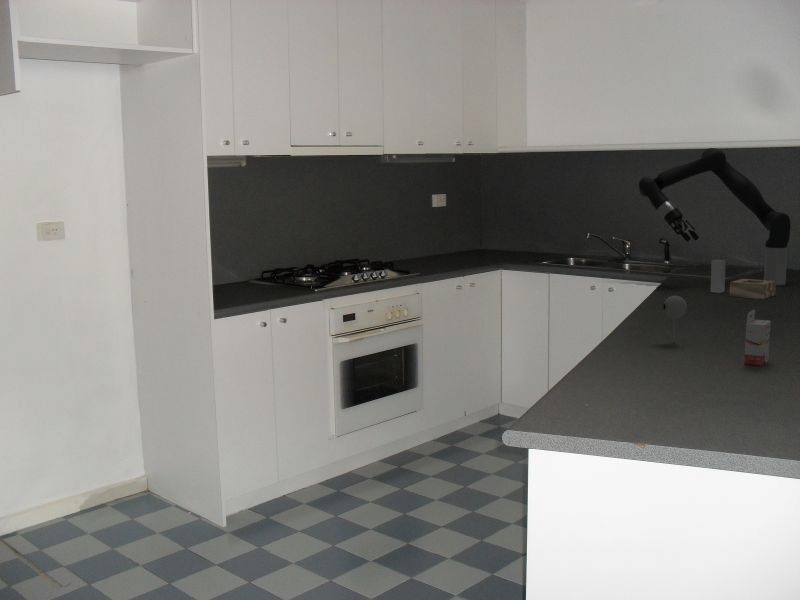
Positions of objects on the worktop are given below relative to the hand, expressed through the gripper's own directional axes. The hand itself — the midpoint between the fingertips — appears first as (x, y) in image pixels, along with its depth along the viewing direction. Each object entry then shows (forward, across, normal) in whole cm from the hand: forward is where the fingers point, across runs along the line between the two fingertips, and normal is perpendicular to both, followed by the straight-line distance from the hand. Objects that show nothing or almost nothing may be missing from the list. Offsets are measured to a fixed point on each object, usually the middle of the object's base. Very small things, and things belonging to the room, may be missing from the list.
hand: (693, 239), depth 393 cm
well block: (+36, -2, -4) cm, 36 cm away
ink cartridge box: (+71, -128, -38) cm, 151 cm away
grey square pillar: (+24, 0, +8) cm, 25 cm away
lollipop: (+49, -115, -16) cm, 126 cm away
